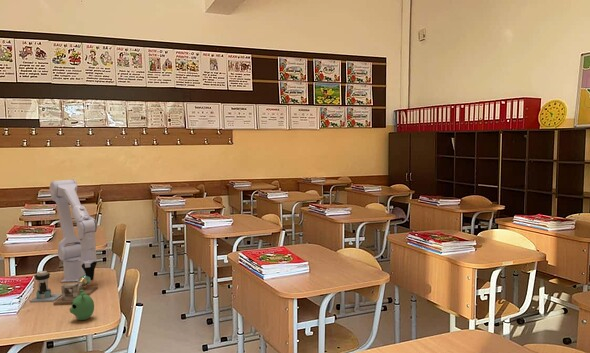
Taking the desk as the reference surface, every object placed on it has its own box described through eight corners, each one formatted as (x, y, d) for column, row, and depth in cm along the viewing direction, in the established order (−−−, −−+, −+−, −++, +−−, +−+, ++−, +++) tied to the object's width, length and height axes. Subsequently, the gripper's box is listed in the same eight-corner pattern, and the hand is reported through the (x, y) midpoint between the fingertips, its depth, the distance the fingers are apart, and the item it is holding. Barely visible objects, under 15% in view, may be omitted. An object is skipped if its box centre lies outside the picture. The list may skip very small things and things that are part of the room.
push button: (56, 294, 191) (54, 269, 190) (54, 298, 186) (52, 272, 185) (37, 296, 189) (35, 271, 188) (34, 300, 184) (32, 274, 183)
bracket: (75, 289, 199) (74, 274, 198) (97, 288, 199) (96, 274, 198) (53, 305, 180) (52, 289, 179) (77, 304, 180) (76, 288, 179)
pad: (39, 296, 191) (39, 294, 191) (62, 295, 191) (62, 293, 191) (30, 302, 184) (30, 300, 184) (53, 301, 184) (53, 299, 184)
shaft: (81, 284, 198) (80, 275, 198) (91, 284, 198) (90, 274, 198) (64, 296, 184) (64, 285, 183) (75, 295, 184) (74, 285, 183)
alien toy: (69, 318, 165) (67, 290, 165) (94, 314, 169) (92, 286, 168) (70, 325, 159) (68, 295, 158) (96, 320, 163) (94, 291, 162)
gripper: (79, 245, 207) (81, 276, 208) (75, 253, 193) (78, 286, 194) (97, 244, 209) (99, 275, 210) (94, 251, 195) (97, 284, 197)
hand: (90, 280), depth 202 cm, fingers closed
